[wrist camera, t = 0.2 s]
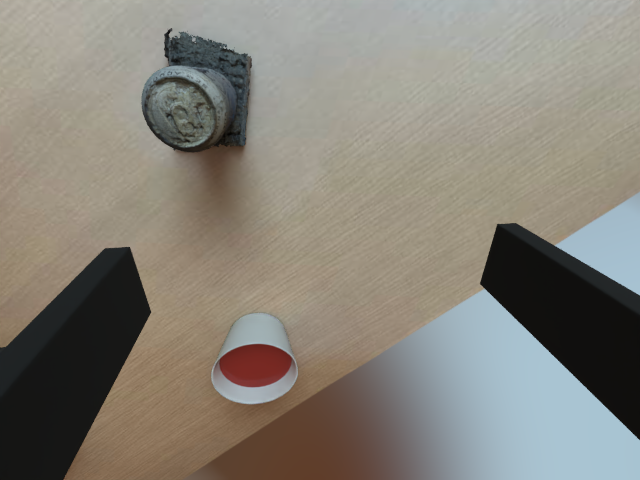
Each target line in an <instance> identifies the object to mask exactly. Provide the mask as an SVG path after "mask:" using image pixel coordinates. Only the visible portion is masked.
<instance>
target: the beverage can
mask: <svg viewBox="0 0 640 480" xmlns="http://www.w3.org/2000/svg"><path fill="white" fill-rule="evenodd" d="M167 30H168V29H167ZM171 31H172V28H171V29H169V30H168V32H167V33H166V34H165V35H164V36H165V42H164V43H165V48H164V50H165V57H167V58H168V61H169V67H165V68H162V69H160V70H158V71H157V72H155V73H154V74H153V75H152V76H151V77H150V78H149V79H148V80H147V82H146V84H145V87H144V89H143V93H142V111H143V115H144V117H145V120H146V122H147V125H148V126H149V128H150V129H151V131H152V132H153V133H154V134H155V135H156V137H157V138H159V139H160V140H161V141H162V142H164V143H165V144H166V145H168V146H170V147H172V148H174V151H175V149H177V150H180V151H185V152H199V151H203V150H206V149H209V148H210V147H211V146H218V147H219V144H221V145H225V146H226V147H227V145H230V146H231V145H232V146H239V145H240V146H243V145H245V140H246V138H245V137H244V136H245V130H246V126H245V125H246V118H247V114H248V113H247V99H248V97H247V96H248V95H249V76H250V68H251V67H252V63H251V61H252V58H251V56H250V57H249V56H247V55H248V54H241V55H240V54H238V53H236V52H235V51H234V50H233V51H232V50H230V49H229V50H227V48H226V49H224V48H223V46H225V47H227V45H226V44H223V45H221V43H216V42H214V41H213V43H212V40H209V39H208V41H207V40H202V39H203V38H201V37H198V36H197V37H195V36H194V37H195V38H196V41H194V42H196V43H194V42H192V37H191V35H190V36H189V35H188V34H187V33H186V32H185V33H184V32H181V33H180V32H179V33H180V34H181V36H180V38H179V39H178V37H177V36H175V37H176V38H173V37H172V40H170V37H169V33H170V32H171ZM192 36H193V35H192ZM194 37H193V38H194ZM213 44H214V45H213ZM220 46H221V47H222V48H220ZM234 48H235V47H234ZM175 60H176V61H175Z"/></svg>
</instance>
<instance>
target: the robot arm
mask: <svg viewBox="0 0 640 480" xmlns="http://www.w3.org/2000/svg"><path fill="white" fill-rule="evenodd" d="M480 284H481V285H482V286H483V287H484V288H485V289H486V290H487V291H488V292H489V293H490V294H491V295H492V296H493V297H494V298H495V299H496V300H497V301H498V302H499V303H500V304H501V305H502V306H503V307H504V308H505V309H506V310H507V311H508V312H509V313H510V314H512V316H513V317H514V318H515V319H517V321H518V322H520V323H521V324H522V325H523V326H524V327H525V328H526V329H527V330H528V331H529V332H530V333H531V334H532V335H533V336H534V337H535V338H536V339H537V340H538V341H539V342H540V343H541V344H542V345H543V346H544V347H545V348H546V349H547V350H548V351H549V352H550V353H551V354H552V355H553V356H554V357H555V358H556V359H557V360H558V361H559V362H560V363H562V365H563V366H565V367H566V368H567V369H568V370H569V371H570V372H571V373H572V374H573V375H574V376H575V377H576V378H577V379H578V380H579V381H580V382H581V383H582V384H583V385H584V386H585V387H586V388H587V389H588V390H589V391H590V392H591V393H592V394H593V395H594V396H595V397H596V398H597V399H598V400H599V401H600V402H601V403H602V404H603V405H604V406H605V407H606V408H608V409H609V410H610V411H611V412H612V413H613V414H614V415H615V416H616V417H617V418H618V419H619V420H620V421H621V422H622V423H623V424H624V425H625V426H626V427H627V428H628V429H629V430H630V431H631V432H632V433H633V434H634V435H635V436H636V437H637V438H638V439H639V440H640V295H638V294H636V293H634V292H633V291H631V290H629V289H627V288H626V287H624V286H622V285H621V284H619V283H617V282H616V281H614V280H612V279H610V278H609V277H607V276H605V275H604V274H602V273H600V272H599V271H597V270H595V269H593V268H591V267H590V266H588V265H587V264H585V263H583V262H581V261H580V260H578V259H576V258H575V257H573V256H571V255H569V254H567V253H566V252H564V251H563V250H561V249H559V248H557V247H556V246H554V245H552V244H551V243H549V242H547V241H545V240H544V239H542V238H540V237H539V236H537V235H535V234H533V233H532V232H530V231H528V230H527V229H525V228H523V227H521V226H520V225H518V224H516V223H510V224H497V227H496V231H495V234H494V238H493V241H492V244H491V248H490V251H489V255H488V258H487V262H486V265H485V268H484V272H483V275H482V279H481V282H480ZM150 314H151V310H150V307H149V304H148V301H147V298H146V295H145V292H144V289H143V286H142V283H141V280H140V277H139V273H138V270H137V267H136V264H135V261H134V258H133V255H132V252H131V249H130V247H122V248H105V249H104V250H103V251H102V252H101V253H100V254H99V255H98V256H97V257H96V258H95V259H94V260H93V261H92V262H91V263H90V264H89V265H88V266H87V267H86V268H85V269H84V270H83V271H82V272H81V273H80V274H79V275H78V276H77V277H76V278H75V279H74V280H73V281H72V282H71V283H70V284H69V285H68V286H67V287H66V288H65V289H64V290H63V291H62V292H61V293H60V294H59V295H58V296H57V297H56V298H55V299H54V300H53V301H52V302H51V303H50V304H49V305H48V306H47V307H46V308H45V309H44V310H43V311H42V312H41V313H40V314H39V315H38V316H37V317H36V318H35V319H34V320H33V321H32V322H31V323H30V324H29V325H28V326H27V327H26V328H25V329H24V330H23V331H22V332H21V333H20V334H19V335H18V336H17V337H16V338H15V339H14V340H13V341H12V342H11V343H10V344H9V345H8V346H7V347H2V348H0V480H63V479H64V477H65V475H66V473H67V471H68V470H69V468H70V466H71V464H72V462H73V460H74V458H75V456H76V454H77V452H78V450H79V449H80V447H81V445H82V443H83V441H84V439H85V437H86V435H87V433H88V431H89V430H90V428H91V426H92V424H93V422H94V420H95V418H96V416H97V414H98V412H99V411H100V409H101V407H102V405H103V403H104V401H105V399H106V397H107V395H108V393H109V392H110V390H111V388H112V386H113V384H114V382H115V380H116V378H117V376H118V374H119V373H120V371H121V369H122V367H123V365H124V363H125V361H126V359H127V357H128V355H129V354H130V352H131V350H132V348H133V346H134V344H135V342H136V340H137V338H138V336H139V334H140V333H141V331H142V329H143V327H144V325H145V323H146V321H147V319H148V317H149V315H150Z"/></svg>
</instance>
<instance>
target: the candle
mask: <svg viewBox="0 0 640 480" xmlns="http://www.w3.org/2000/svg"><path fill="white" fill-rule="evenodd" d="M297 376H298V367H297V363H296V360H295V357H294V354H293V351H292V348H291V344H290V341H289V338H288V335H287V333H286V330H285V327H284V325H283V324H282V323H281V321H280V320H279V319H277V318H276V317H274V316H272V315H269V314H266V313H251V314H248V315H245V316H243V317H241V318H239V319H238V320H237V321H235V322H234V324H233V325H232V326H231V328H230V330H229V332H228V334H227V336H226V339H225V341H224V343H223V345H222V348H221V350H220V352H219V354H218V357H217V359H216V361H215V363H214V366H213V369H212V373H211V379H212V383H213V386H214V387H215V389H216V390H217V391H218V392H219V393H220V394H221V395H222V396H223V397H225V398H227V399H229V400H231V401H234V402H237V403H242V404H260V403H266V402H269V401H272V400H275V399H277V398H279V397H281V396H282V395H284V394H285V393H287V392H288V391H289V390H290V389H291V388H292V386H293V385H294V383H295V382H296V379H297Z"/></svg>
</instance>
